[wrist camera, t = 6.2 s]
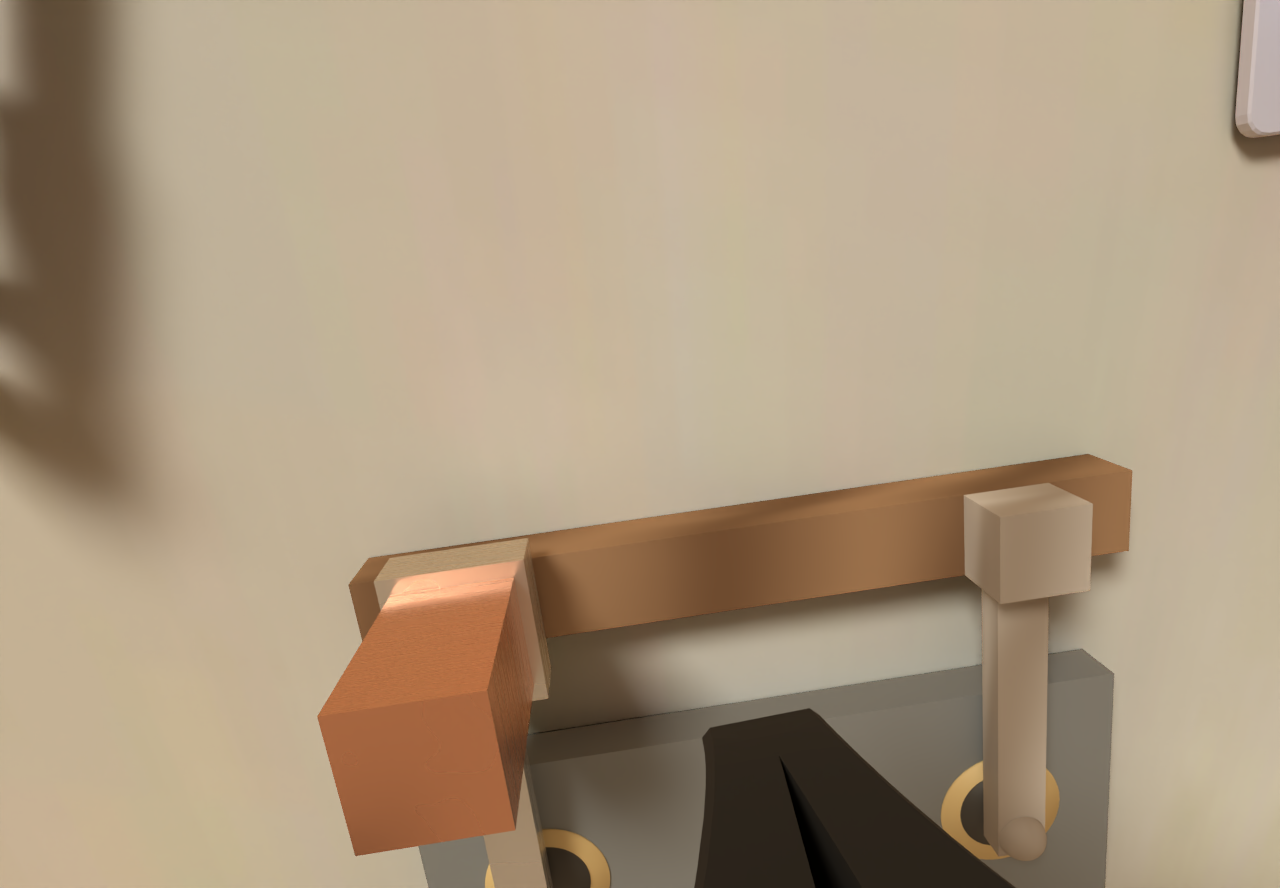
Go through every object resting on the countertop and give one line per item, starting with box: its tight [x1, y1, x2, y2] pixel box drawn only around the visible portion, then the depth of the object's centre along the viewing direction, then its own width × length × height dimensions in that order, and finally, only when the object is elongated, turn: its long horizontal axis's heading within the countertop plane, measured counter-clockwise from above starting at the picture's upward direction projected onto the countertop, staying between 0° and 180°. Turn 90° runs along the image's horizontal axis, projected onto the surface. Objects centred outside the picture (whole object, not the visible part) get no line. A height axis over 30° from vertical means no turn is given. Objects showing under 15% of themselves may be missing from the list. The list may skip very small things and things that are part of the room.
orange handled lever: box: [317, 538, 553, 888], centre depth 14 cm, size 3×10×6 cm, turn 7°
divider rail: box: [349, 454, 1132, 861], centre depth 17 cm, size 18×10×3 cm, turn 97°
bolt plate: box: [419, 649, 1114, 888], centre depth 19 cm, size 18×7×1 cm, turn 97°
